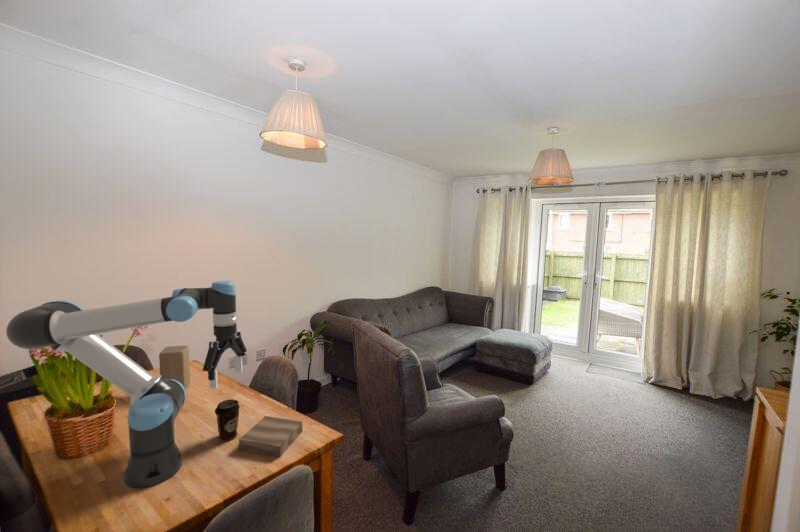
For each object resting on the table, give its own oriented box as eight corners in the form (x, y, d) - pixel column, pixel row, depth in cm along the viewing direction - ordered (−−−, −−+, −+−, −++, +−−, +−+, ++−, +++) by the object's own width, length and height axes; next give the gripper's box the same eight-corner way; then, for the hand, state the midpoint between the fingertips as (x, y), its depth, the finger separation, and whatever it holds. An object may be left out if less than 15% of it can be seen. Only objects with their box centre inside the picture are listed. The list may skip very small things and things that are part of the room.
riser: (280, 457, 122) (280, 446, 121) (239, 449, 125) (238, 439, 125) (302, 431, 137) (302, 421, 137) (265, 425, 141) (265, 416, 140)
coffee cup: (245, 431, 136) (244, 399, 135) (233, 444, 128) (232, 410, 127) (224, 429, 137) (223, 397, 136) (210, 442, 129) (209, 408, 128)
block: (167, 385, 173) (165, 346, 171) (190, 383, 176) (188, 344, 174) (160, 395, 163) (158, 353, 161) (184, 392, 166) (183, 351, 164)
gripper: (208, 334, 115) (211, 396, 118) (255, 316, 139) (256, 367, 142) (189, 332, 117) (191, 393, 119) (238, 314, 141) (239, 365, 143)
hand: (227, 379), depth 130 cm, fingers open, 13 cm apart
